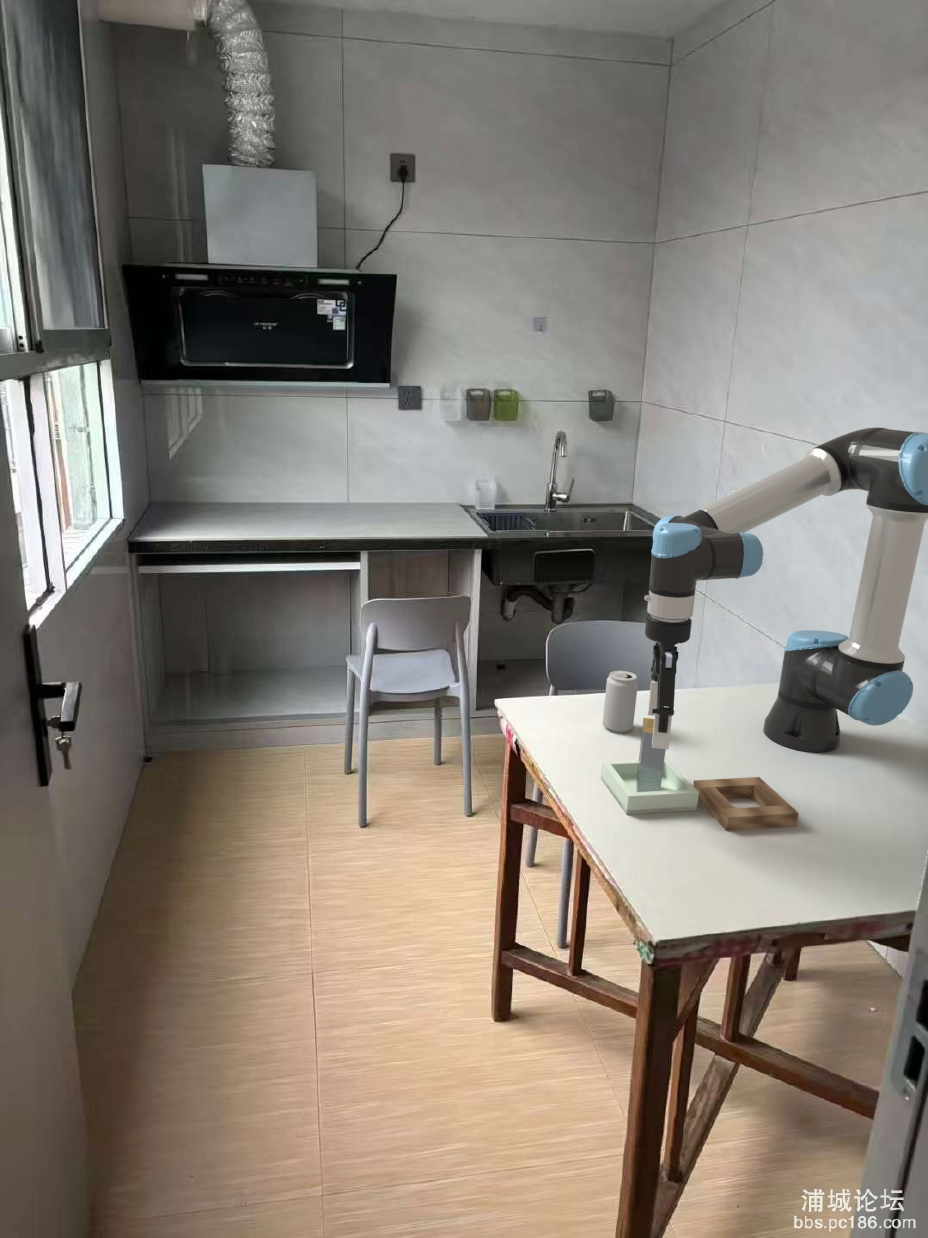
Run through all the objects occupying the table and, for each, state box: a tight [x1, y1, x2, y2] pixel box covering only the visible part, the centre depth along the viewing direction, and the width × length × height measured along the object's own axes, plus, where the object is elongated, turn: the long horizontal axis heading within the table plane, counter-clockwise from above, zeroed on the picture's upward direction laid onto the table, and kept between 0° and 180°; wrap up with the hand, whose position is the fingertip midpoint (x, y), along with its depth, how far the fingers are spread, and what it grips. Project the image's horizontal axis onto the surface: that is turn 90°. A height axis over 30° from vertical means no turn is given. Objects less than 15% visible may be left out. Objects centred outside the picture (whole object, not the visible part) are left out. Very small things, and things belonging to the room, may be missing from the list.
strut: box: [636, 717, 667, 792], centre depth 154 cm, size 4×4×13 cm
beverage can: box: [602, 670, 639, 734], centre depth 181 cm, size 6×6×12 cm
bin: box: [600, 758, 699, 815], centre depth 156 cm, size 13×13×4 cm
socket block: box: [692, 776, 799, 832], centre depth 152 cm, size 13×13×2 cm
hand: (657, 730), depth 153 cm, fingers open, 13 cm apart
